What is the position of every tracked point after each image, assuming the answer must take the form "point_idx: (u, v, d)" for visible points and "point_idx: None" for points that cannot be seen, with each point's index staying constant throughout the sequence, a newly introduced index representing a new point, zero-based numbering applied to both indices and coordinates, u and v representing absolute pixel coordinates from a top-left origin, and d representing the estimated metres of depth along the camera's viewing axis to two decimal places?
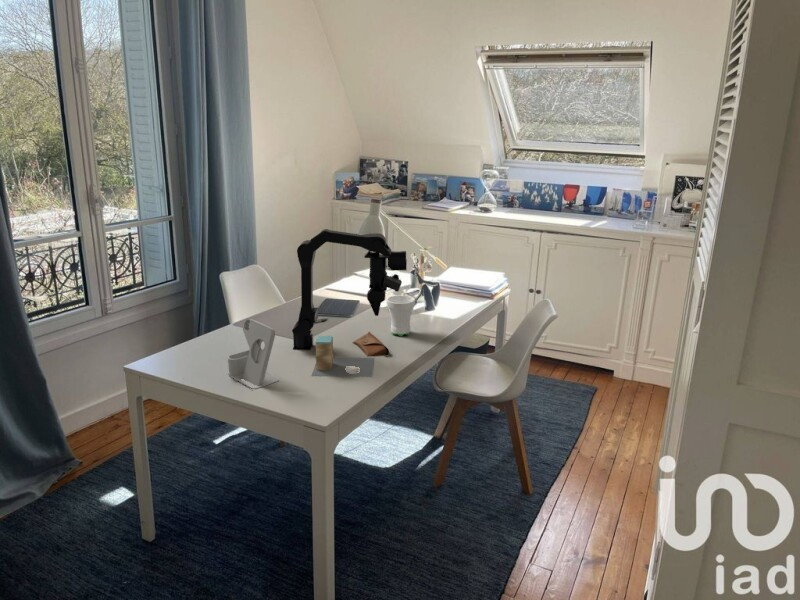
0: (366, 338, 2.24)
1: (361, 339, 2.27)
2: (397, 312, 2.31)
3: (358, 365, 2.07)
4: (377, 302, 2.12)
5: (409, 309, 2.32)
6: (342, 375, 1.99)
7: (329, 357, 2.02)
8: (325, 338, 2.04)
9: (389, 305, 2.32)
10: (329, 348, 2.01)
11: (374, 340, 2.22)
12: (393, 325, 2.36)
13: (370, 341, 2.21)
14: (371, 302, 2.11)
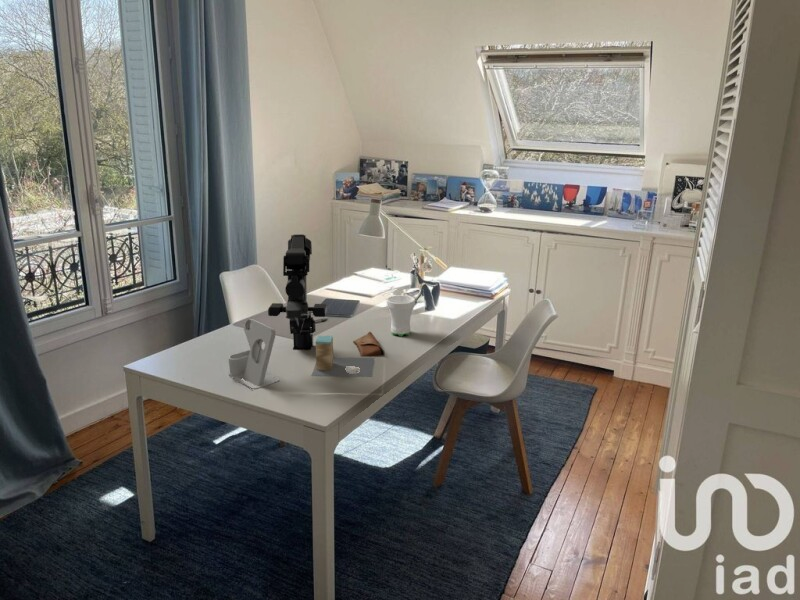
0: (364, 338, 2.24)
1: (360, 339, 2.27)
2: (397, 312, 2.31)
3: (358, 365, 2.07)
4: None
5: (409, 309, 2.32)
6: (342, 375, 1.99)
7: (329, 357, 2.02)
8: (325, 338, 2.04)
9: (389, 305, 2.32)
10: (329, 348, 2.01)
11: (371, 340, 2.21)
12: (393, 325, 2.36)
13: (367, 342, 2.21)
14: None
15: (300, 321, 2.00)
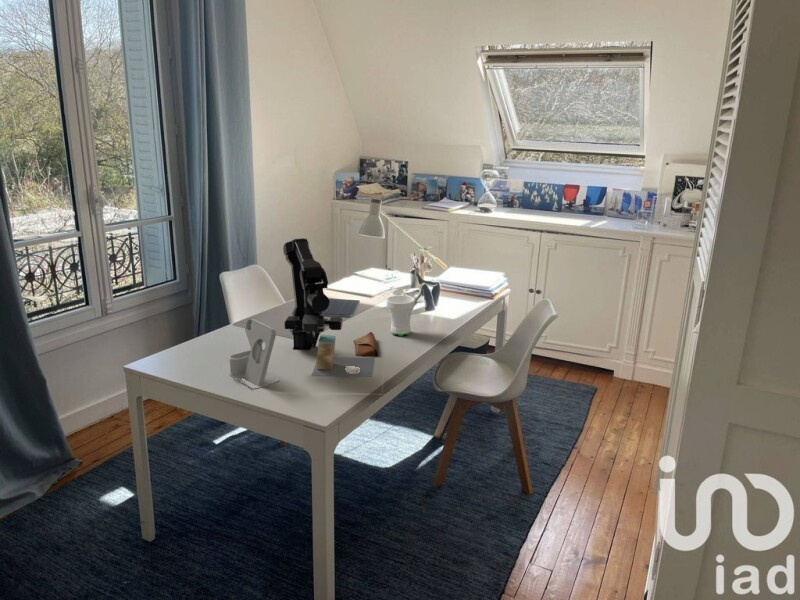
0: (363, 338, 2.24)
1: (360, 338, 2.27)
2: (397, 312, 2.31)
3: (358, 365, 2.07)
4: None
5: (409, 309, 2.32)
6: (342, 375, 1.99)
7: (330, 357, 2.02)
8: (328, 338, 2.04)
9: (389, 305, 2.32)
10: (331, 348, 2.01)
11: (368, 341, 2.21)
12: (393, 325, 2.36)
13: (364, 342, 2.21)
14: None
15: (316, 334, 2.01)
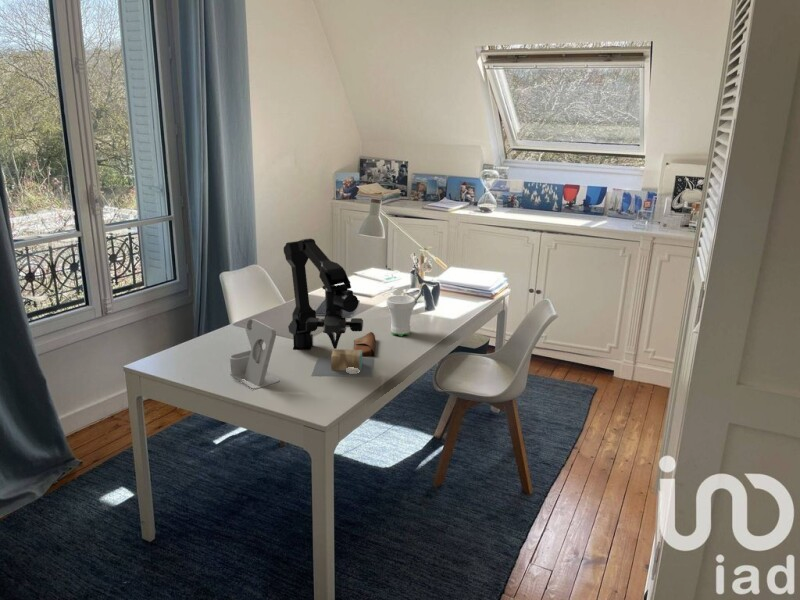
0: (362, 338, 2.25)
1: (360, 338, 2.28)
2: (397, 312, 2.31)
3: None
4: None
5: (409, 309, 2.32)
6: (342, 375, 1.99)
7: (344, 368, 2.03)
8: (361, 360, 2.06)
9: (389, 305, 2.32)
10: None
11: (366, 341, 2.21)
12: (393, 325, 2.36)
13: (363, 342, 2.21)
14: None
15: (337, 335, 2.01)
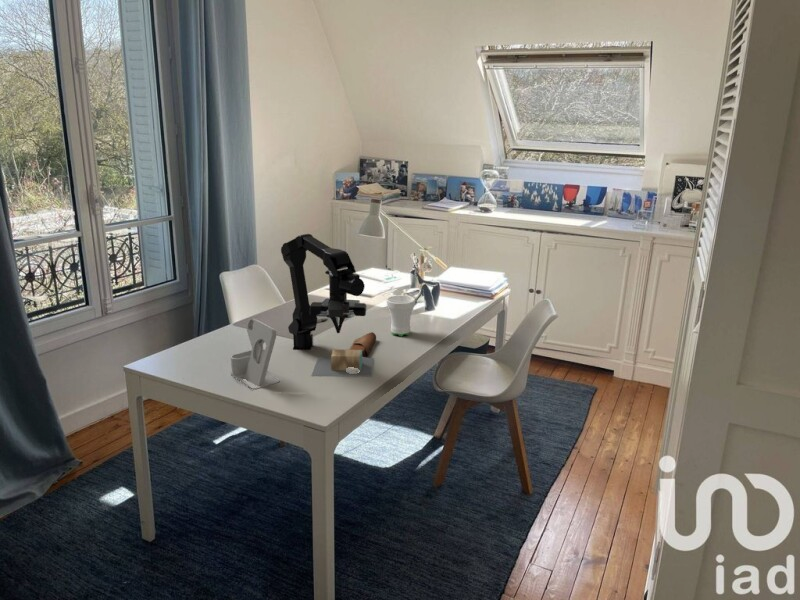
0: (361, 338, 2.25)
1: None
2: (397, 312, 2.31)
3: None
4: None
5: (409, 309, 2.32)
6: (342, 375, 1.99)
7: (344, 368, 2.03)
8: (361, 360, 2.06)
9: (389, 305, 2.32)
10: None
11: (363, 341, 2.21)
12: (393, 325, 2.36)
13: (359, 341, 2.21)
14: None
15: (340, 320, 2.03)
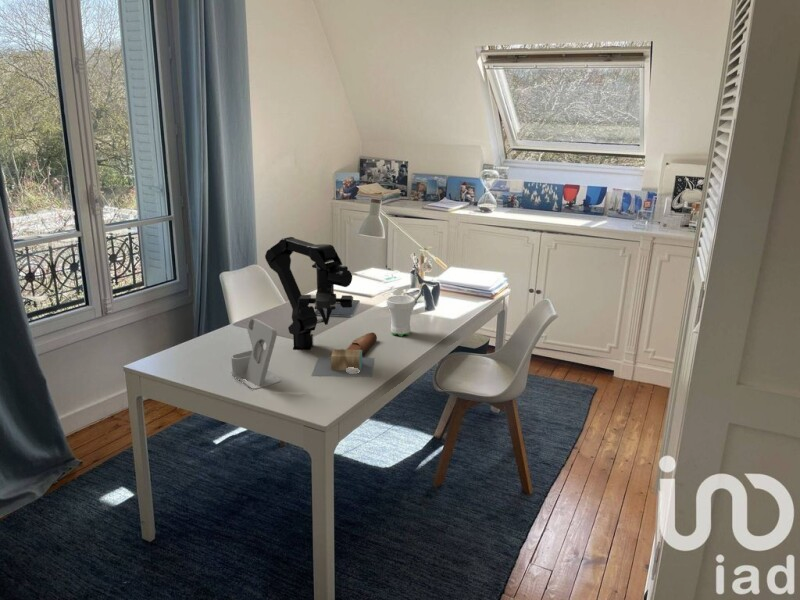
0: (360, 337, 2.25)
1: None
2: (397, 312, 2.31)
3: None
4: None
5: (409, 309, 2.32)
6: (342, 375, 1.99)
7: (344, 368, 2.03)
8: (361, 360, 2.06)
9: (389, 305, 2.32)
10: None
11: (361, 341, 2.21)
12: (393, 325, 2.36)
13: (358, 341, 2.21)
14: None
15: (328, 312, 2.10)
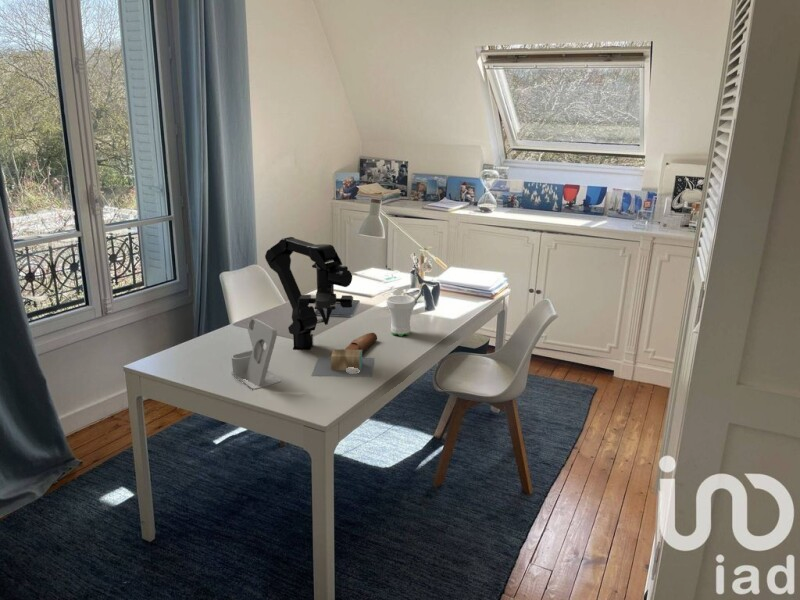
0: (359, 337, 2.25)
1: None
2: (397, 312, 2.31)
3: None
4: None
5: (409, 309, 2.32)
6: (342, 375, 1.99)
7: (344, 368, 2.03)
8: (361, 360, 2.06)
9: (389, 305, 2.32)
10: None
11: (360, 340, 2.21)
12: (393, 325, 2.36)
13: (357, 341, 2.22)
14: None
15: (328, 312, 2.10)
